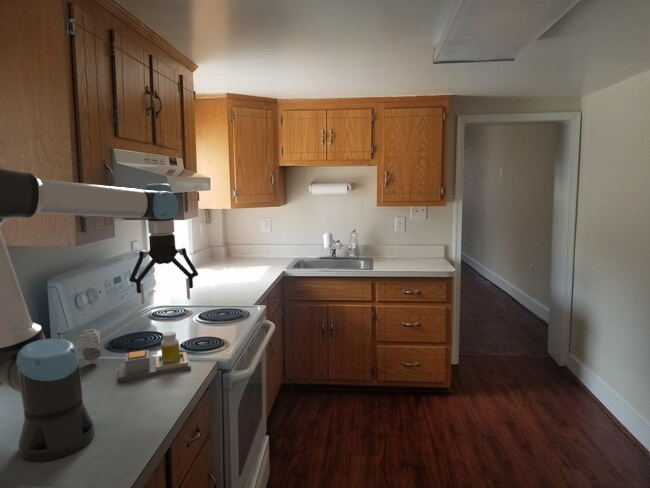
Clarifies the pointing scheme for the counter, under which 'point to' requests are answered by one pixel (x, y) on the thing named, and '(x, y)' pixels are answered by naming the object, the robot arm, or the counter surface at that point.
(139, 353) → the switch button
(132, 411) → the counter surface
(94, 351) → the light bulb
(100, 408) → the counter surface
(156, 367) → the base
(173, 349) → the supplement bottle
